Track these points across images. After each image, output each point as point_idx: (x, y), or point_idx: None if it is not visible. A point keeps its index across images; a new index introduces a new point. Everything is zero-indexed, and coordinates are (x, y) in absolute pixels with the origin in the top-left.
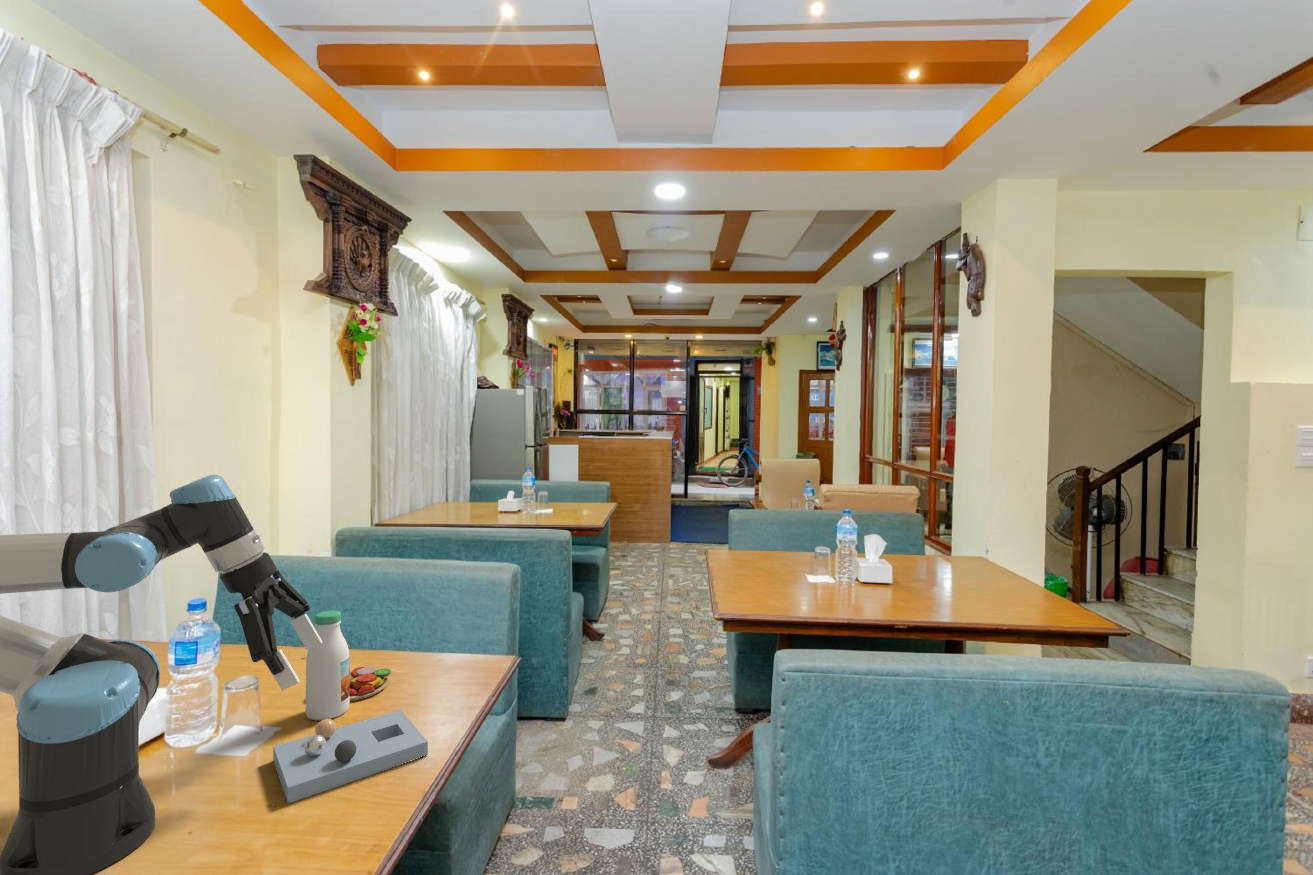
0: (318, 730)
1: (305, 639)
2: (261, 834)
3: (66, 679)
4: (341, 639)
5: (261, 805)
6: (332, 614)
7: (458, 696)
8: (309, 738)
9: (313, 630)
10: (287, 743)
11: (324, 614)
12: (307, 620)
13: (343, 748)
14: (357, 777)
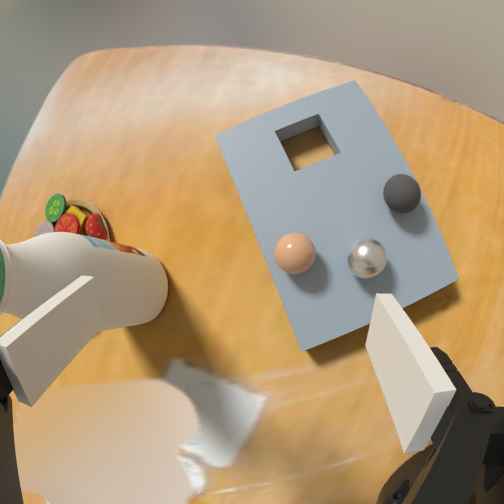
0: (311, 263)
1: (80, 334)
2: (500, 293)
3: None
4: (38, 241)
5: (441, 319)
6: None
7: (160, 81)
8: (371, 267)
9: (59, 304)
10: (298, 327)
11: None
12: (27, 332)
13: (418, 191)
14: None
